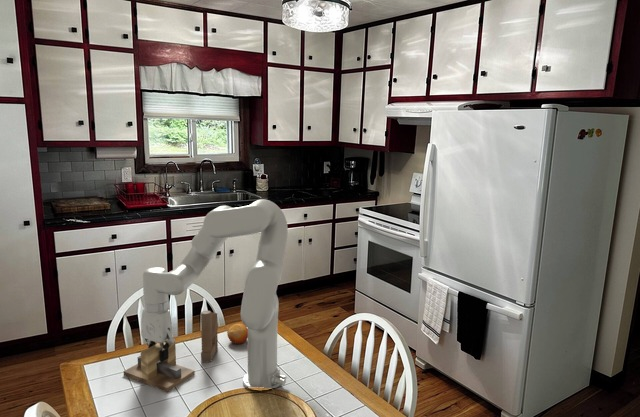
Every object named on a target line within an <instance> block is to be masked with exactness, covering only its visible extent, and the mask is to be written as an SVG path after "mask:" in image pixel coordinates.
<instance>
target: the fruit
mask: <svg viewBox="0 0 640 417" xmlns="http://www.w3.org/2000/svg"><path fill="white" fill-rule="evenodd" d="M226 333H227V338H228V340H229V341H230V342H231V343H233V344H238V345H242V344H245V343H246V342H247V341H248V328H247V327H246V326H245V325H244V323H235V324H233V325H231V326H230V327H229V328H228V329H227V332H226Z"/></svg>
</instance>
